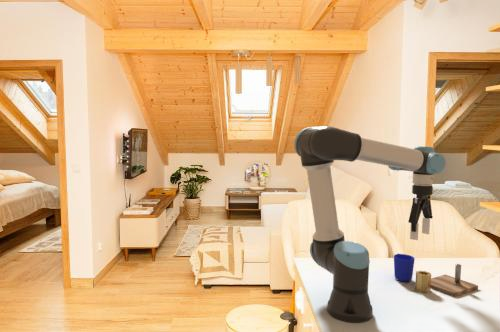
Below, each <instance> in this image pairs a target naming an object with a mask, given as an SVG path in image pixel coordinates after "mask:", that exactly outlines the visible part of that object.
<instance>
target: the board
mask: <svg viewBox="0 0 500 332" xmlns="http://www.w3.org/2000/svg"><path fill="white" fill-rule="evenodd" d="M454 282H455V276H454V277H453V276H451V275H447V274H442V275H438V276H436V277H435V276H434V277H431V289H432V290H435V291H437V292H441V293H443V294H446V295H447V296H451V297H454V298H456V297H458V296H462V295H465V294H467V293H471V292H474V291H476V290H478V289H479V285H477V284H475V283H472V282H469V281H465V280H462V279H460V283H461V285H455V284H454Z"/></svg>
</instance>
